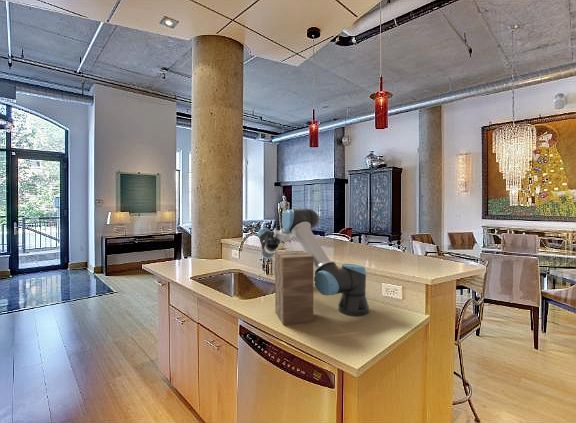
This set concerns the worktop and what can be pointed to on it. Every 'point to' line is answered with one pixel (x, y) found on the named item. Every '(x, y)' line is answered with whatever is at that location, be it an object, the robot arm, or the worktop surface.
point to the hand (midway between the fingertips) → (279, 230)
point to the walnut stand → (294, 287)
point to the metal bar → (282, 236)
